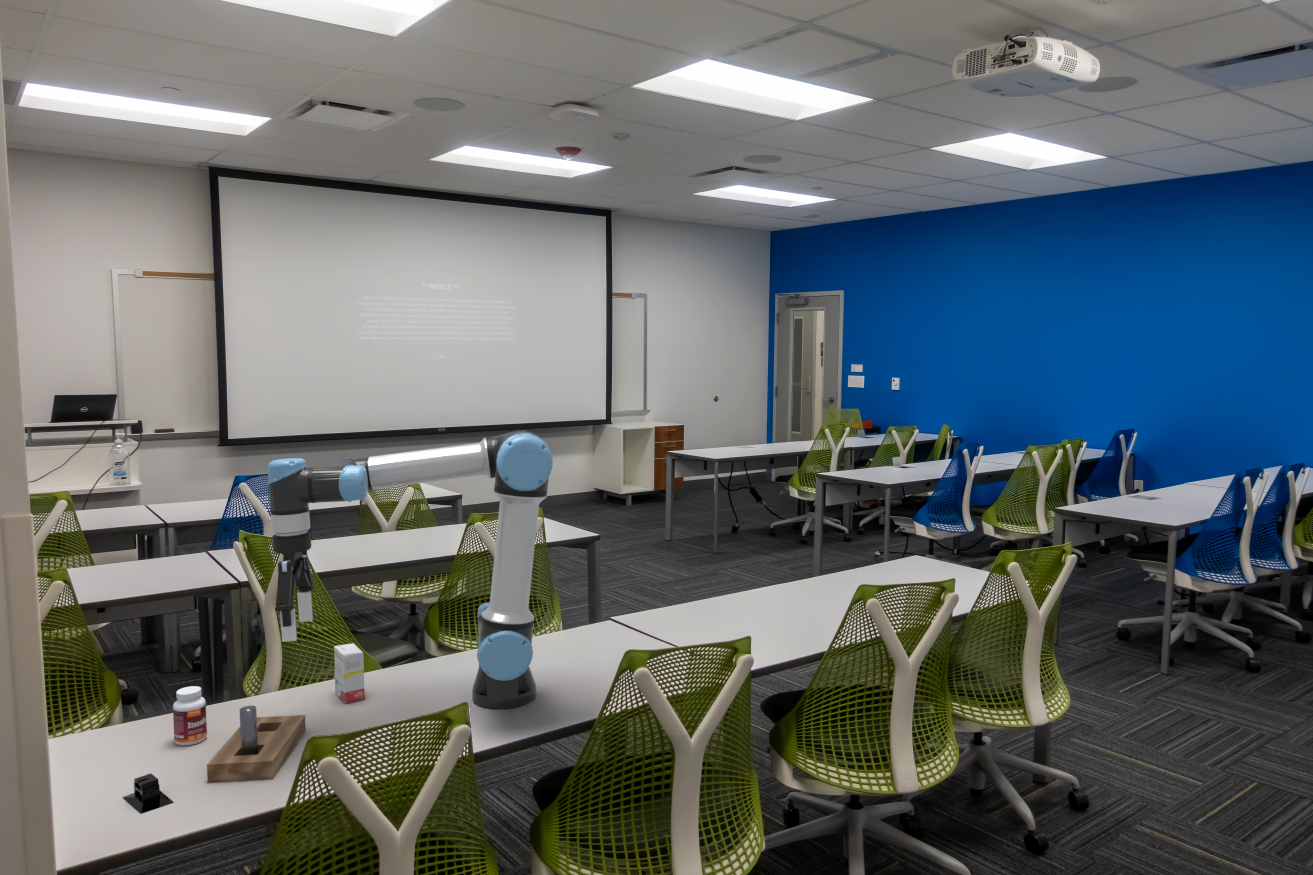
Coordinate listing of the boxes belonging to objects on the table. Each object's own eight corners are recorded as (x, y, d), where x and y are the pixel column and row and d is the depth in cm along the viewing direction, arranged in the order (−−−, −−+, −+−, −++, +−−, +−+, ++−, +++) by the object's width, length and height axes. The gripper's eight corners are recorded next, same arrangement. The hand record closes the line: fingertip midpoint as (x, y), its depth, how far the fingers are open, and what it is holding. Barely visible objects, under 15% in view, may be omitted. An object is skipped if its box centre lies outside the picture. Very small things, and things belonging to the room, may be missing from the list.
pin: (261, 762, 173) (258, 705, 172) (255, 769, 171) (253, 711, 169) (245, 763, 173) (242, 705, 172) (240, 770, 170) (237, 711, 169)
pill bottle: (190, 748, 180) (188, 697, 179) (167, 744, 182) (164, 693, 181) (214, 735, 186) (211, 686, 185) (191, 732, 188) (188, 683, 187)
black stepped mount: (114, 798, 161) (113, 775, 160) (157, 784, 166) (155, 761, 166) (139, 822, 152) (137, 797, 152) (183, 805, 158) (181, 781, 158)
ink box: (365, 699, 206) (364, 651, 205) (344, 704, 203) (343, 655, 202) (355, 688, 213) (353, 641, 212) (334, 693, 210) (332, 645, 209)
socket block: (305, 730, 189) (305, 714, 188) (272, 778, 167) (272, 760, 167) (248, 733, 187) (247, 717, 187) (207, 781, 166) (206, 764, 165)
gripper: (288, 522, 193) (294, 614, 195) (254, 545, 169) (261, 651, 171) (323, 520, 195) (329, 612, 197) (294, 543, 170) (301, 648, 172)
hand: (298, 630), depth 184 cm, fingers open, 13 cm apart
